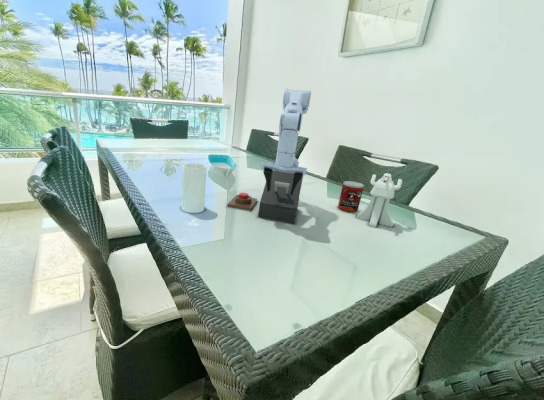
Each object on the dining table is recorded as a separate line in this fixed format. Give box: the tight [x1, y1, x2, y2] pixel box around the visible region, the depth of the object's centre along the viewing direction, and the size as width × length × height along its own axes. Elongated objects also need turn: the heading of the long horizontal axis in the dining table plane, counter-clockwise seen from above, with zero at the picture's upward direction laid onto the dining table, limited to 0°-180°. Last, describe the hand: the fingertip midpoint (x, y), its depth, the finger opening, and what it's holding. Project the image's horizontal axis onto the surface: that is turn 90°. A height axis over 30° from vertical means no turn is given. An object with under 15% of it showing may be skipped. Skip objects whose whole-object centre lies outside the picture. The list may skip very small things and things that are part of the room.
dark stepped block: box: [257, 199, 300, 225], centre depth 101 cm, size 16×13×5 cm
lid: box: [259, 170, 304, 211], centre depth 96 cm, size 16×13×5 cm
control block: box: [227, 193, 258, 212], centre depth 108 cm, size 12×9×3 cm
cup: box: [181, 162, 207, 214], centre depth 97 cm, size 8×8×16 cm
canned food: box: [337, 180, 365, 214], centre depth 110 cm, size 8×8×11 cm
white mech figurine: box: [356, 172, 403, 228], centre depth 98 cm, size 12×13×18 cm
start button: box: [238, 192, 249, 199], centre depth 107 cm, size 4×4×2 cm
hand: (279, 192), depth 91 cm, fingers open, 7 cm apart
